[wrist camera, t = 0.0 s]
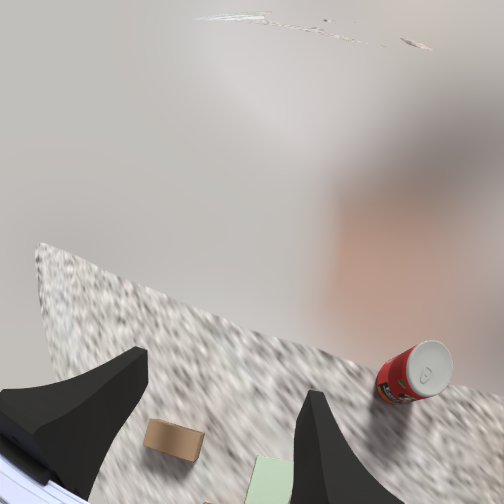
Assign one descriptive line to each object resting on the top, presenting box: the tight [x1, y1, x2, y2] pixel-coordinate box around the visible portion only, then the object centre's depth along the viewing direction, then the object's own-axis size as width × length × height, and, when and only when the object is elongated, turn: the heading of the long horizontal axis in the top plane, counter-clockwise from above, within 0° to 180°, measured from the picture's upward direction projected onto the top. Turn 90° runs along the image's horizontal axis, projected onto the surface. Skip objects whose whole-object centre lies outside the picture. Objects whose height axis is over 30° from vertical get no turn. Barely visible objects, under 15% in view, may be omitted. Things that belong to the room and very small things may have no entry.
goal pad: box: [245, 456, 294, 504], centre depth 33 cm, size 9×6×1 cm, turn 167°
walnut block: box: [143, 419, 205, 462], centre depth 35 cm, size 7×4×5 cm, turn 77°
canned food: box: [377, 340, 453, 404], centre depth 37 cm, size 8×8×11 cm
